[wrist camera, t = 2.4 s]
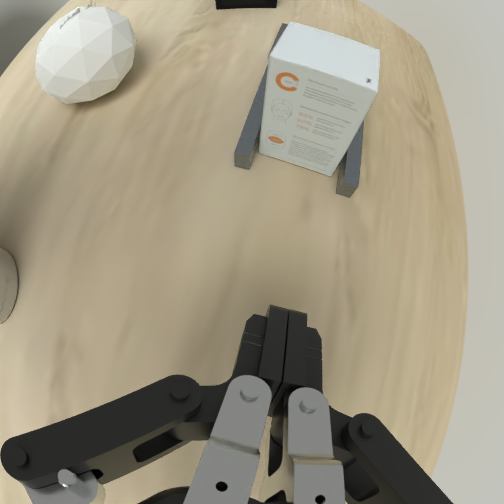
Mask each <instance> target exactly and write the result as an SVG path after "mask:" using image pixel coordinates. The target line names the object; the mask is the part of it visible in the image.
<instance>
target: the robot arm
mask: <svg viewBox="0 0 504 504" xmlns="http://www.w3.org/2000/svg"><path fill="white" fill-rule="evenodd" d="M17 288H18V277H17V269H16V265H15V262H14V260H13V258H12V256H11V255H10V253H9V252H8V251H7V250H5V249H3V248H1V247H0V324H1V323H2V322H4V321H5V320H6V319H7V317H8V316H9V315H10V313H11V311H12V309H13V307H14V303H15V300H16V295H17ZM321 350H322V343H321V337H320V335H319V334H318V332H317V330H316V329H314V328H310V327H307V314H306V313H302V312H298V311H294V310H290V309H289V310H288V309H286V308H282V307H278V306H274V305H269V308H268V311H267V314H266V317H264V316H260V315H256V314H253V315H252V316H251V317H250V318H249V319H248V320H247V322H246V325H245V329H244V332H243V336H242V339H241V343H240V346H239V350H238V354H237V358H236V362H235V366H234V370H233V374H232V377H231V378H230V379H229V380H228V381H227V382H225V383H223V384H220V385H216V386H199V384H198V383H197V382H196V381H195V380H193V379H192V378H190V377H187V376H184V375H171V376H168V377H166V378H164V379H161V380H159V381H157V382H155V383H153V384H150V385H148V386H146V387H144V388H142V389H139V390H137V391H135V392H132V393H130V394H128V395H125V396H123V397H121V398H118V399H116V400H114V401H111V402H109V403H106V404H104V405H101V406H99V407H97V408H94V409H91V410H89V411H86V412H84V413H81V414H79V415H76V416H73V417H71V418H68V419H65V420H63V421H60V422H57V423H54V424H51V425H49V426H46V427H43V428H40V429H37V430H34V431H31V432H28V433H25V434H22V435H19V436H15V437H12V438H10V439H8V440H7V441H6V442H5V443H4V444H3V446H2V448H1V453H0V457H1V462H2V465H3V467H4V469H5V470H6V472H7V473H8V474H9V475H10V476H12V477H13V478H15V479H16V480H18V481H19V482H20V483H22V484H23V486H24V487H25V489H26V491H27V493H28V495H29V497H30V499H31V501H32V503H33V504H103V503H104V501H105V497H106V494H105V489H104V487H103V484H106V483H108V482H110V481H113V480H115V479H117V478H120V477H122V476H124V475H126V474H128V473H130V472H133V471H135V470H137V469H139V468H141V467H143V466H145V465H147V464H149V463H151V462H153V461H155V460H157V459H159V458H161V457H163V456H165V455H167V454H169V453H170V452H172V451H174V450H176V449H178V448H180V447H181V446H183V445H185V444H187V443H189V442H190V441H192V440H208V441H207V444H206V446H205V449H204V452H203V454H202V457H201V459H200V462H199V465H198V467H197V470H196V472H195V475H194V477H193V480H192V483H191V485H190V486H187V487H177V488H171V489H168V490H164V491H162V492H159V493H157V494H155V495H153V496H151V497H149V498H147V499H146V500H144V501H142V502H140V503H138V504H345V501H346V502H347V503H348V504H453V503H452V502H451V501H450V500H449V499H448V497H447V496H446V495H445V494H444V493H443V492H442V491H441V489H440V488H439V487H438V486H437V485H436V484H435V483H434V482H433V481H432V479H431V478H430V477H429V476H428V475H427V474H426V473H425V472H424V470H423V469H422V468H421V467H420V466H419V465H418V464H417V463H416V461H415V460H414V459H413V458H412V457H411V456H410V455H409V453H408V452H407V451H406V450H405V449H404V448H403V447H402V445H401V444H400V443H399V442H398V441H397V440H396V439H395V438H394V436H393V435H392V434H391V433H390V432H389V431H388V430H387V428H386V427H385V426H384V425H383V424H382V423H381V421H380V420H379V419H378V418H376V417H375V416H373V415H371V414H367V413H361V414H357V415H355V416H354V417H353V418H352V417H349V416H347V415H345V414H343V413H340V412H338V411H336V410H335V409H333V408H332V407H331V406H330V405H329V404H328V401H327V399H326V398H325V396H324V395H323V391H322V360H321V359H322V352H321ZM267 416H270V417H272V423H271V427H270V428H269V430H268V432H267V439H266V455H265V470H264V479H263V482H262V485H261V488H260V493H259V501H257V500H255V499H252V498H250V497H249V496H250V493H251V489H252V485H253V482H254V478H255V474H256V471H257V467H258V463H259V458H260V452H259V447H260V443H261V439H262V435H263V431H264V427H265V423H266V419H267Z"/></svg>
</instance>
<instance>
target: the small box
mask: <svg viewBox="0 0 504 504" xmlns="http://www.w3.org/2000/svg"><path fill="white" fill-rule="evenodd" d="M379 64H380V50H378V49H375V48H372V47H370V46H367V45H365V44H362V43H359V42H357V41H354V40H351V39H348V38H345V37H343V36H340V35H337V34H333V33H330V32H327V31H324V30H320V29H317V28H313V27H310V26H306V25H302V24H299V23H295V22H290V23H289V24H288V26H287V27H286V29H285V30H284V32H283V34H282V35H281V37H280V38H279V40H278V42H277V43H276V45H275V47H274V48H273V50H272V51H271V53H270V55H269V61H268V72H267V81H266V89H265V98H264V107H263V115H262V124H261V133H260V142H259V153H260V154H263V155H267V156H270V157H273V158H276V159H280V160H283V161H286V162H289V163H292V164H295V165H298V166H301V167H304V168H307V169H310V170H313V171H316V172H319V173H322V174H324V175H327V176H330V177H331V176H332V175H333V173H334V171H335V170H336V168H337V166H338V164H339V163H340V161H341V159H342V158H343V156H344V154H345V153H346V151H347V149H348V147H349V145H350V144H351V142H352V140H353V138H354V136H355V134H356V133H357V131H358V129H359V127H360V125H361V123H362V122H363V120H364V118H365V116H366V114H367V113H368V111H369V109H370V107H371V105H372V103H373V102H374V100H375V98H376V96H377V94H378V86H379Z"/></svg>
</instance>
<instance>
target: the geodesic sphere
mask: <svg viewBox="0 0 504 504" xmlns="http://www.w3.org/2000/svg"><path fill="white" fill-rule="evenodd" d="M95 4H96V2H95ZM136 41H137V39H136V37H135V34H134V32H133V29H132V27H131V24H130V22H129V20H128V18H126V17H124V16H122V15H121V14H119V13H117V12H115V11H114V10H112V9H110V8H108V7H92V0H91V4H90V6H89V5H88V6H87V7H77V8H76V9H74V10H72V11H71V12H69V13H68V14H66V15H64V16H63V17H61V18H60V19H58V20H57V21H56V22H55V23H54V24H53V25H51V26H50V27H49V29H48V31H47V32H46V34H45V35H44V37H43V38H42V40H41V42H40V43H39V45H38V49H37V55H36V62H35V75H36V77H37V79H38V81H39V83H40V86H41V88H42V90H43V91H44V92H46V93H48V94H49V95H51V96H53V97H55V98H56V99H58V100H60V101H61V102H63V103H65V104H70V103H77V102H85V101H93V100H95V99H97V98H98V97H100V96H103V95H105V94H107V93H109V92H111V91H113V90H115V89H116V87H117V86H118V85H119V83H120V82H121V80H122V79H123V78H124V77H125V75H126V74H127V73H128V71H129V70H130V69H131V67H132V66H133V59H134V53H135V47H136Z"/></svg>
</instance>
